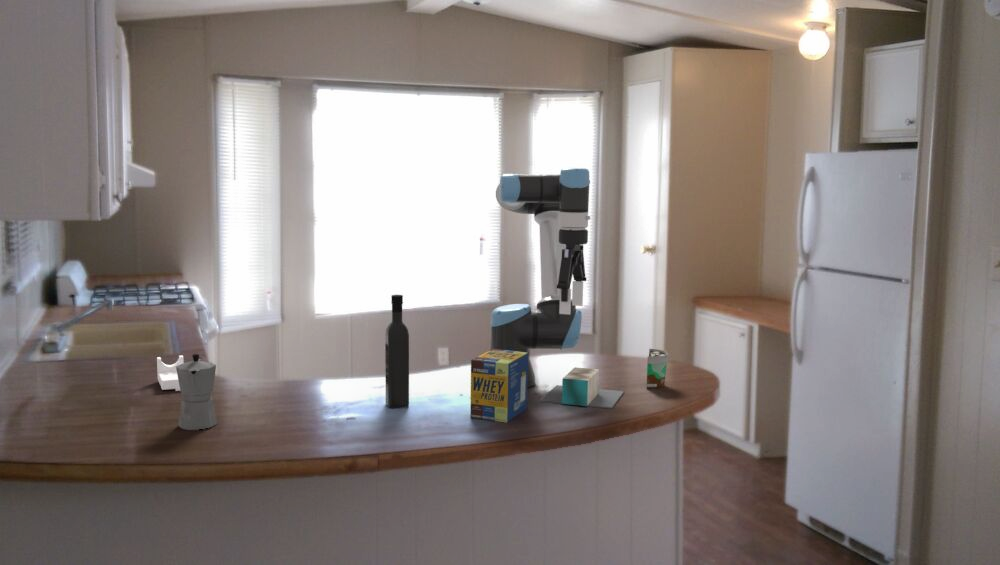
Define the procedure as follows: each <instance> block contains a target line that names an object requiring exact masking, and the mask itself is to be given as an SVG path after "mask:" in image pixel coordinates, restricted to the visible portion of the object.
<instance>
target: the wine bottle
mask: <svg viewBox="0 0 1000 565" xmlns="http://www.w3.org/2000/svg"><path fill="white" fill-rule="evenodd" d="M403 297H404V296H403V294H392V295H391V322H390V323H389V324H388V325H387V327H386V329H385V338H384V340H385V344H384V345H385V355H384V357H385V360H384V361H385V404H386V406H387V407H388V408H389V409H398V408H399V409H401V408H407V407H409V406H410V333H409V329H408V327H407V326H406V324H405V323H404V322H403V304H404V302H403V299H404V298H403Z"/></svg>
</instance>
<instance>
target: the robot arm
mask: <svg viewBox="0 0 1000 565" xmlns="http://www.w3.org/2000/svg"><path fill="white" fill-rule="evenodd" d="M590 184H591V180H590V170H589V169H588V168H582V167H581V168H580V167H564V168H562V169H561V170H560V174H552V173H551V174H544V173H543V174H542V173H541V174H540V173H539V174H536V173H535V174H532V173H529V174H528V173H504V174H502V175H501V176H500V179H499V184H497V186H496V190H495V198H496V201H497V203H498V204H499V206H500V207H502V208H503V209H505V210H506V211H509V212H514V213H516V214H523V215H525V214H526V215H533V219H534V220H533V221H535V222H536V224H538V226H539V249H540V250H539V252H540V253H539V255H540V257H539V259H540V283H541V284H540V287H541V288H540V290H541V292H540V293H541V298H540V300H539V301H538V302H537V303H536V309H532V307H531V304H528V303H512V304H506V305H502V306H497V307H496V308H495V309H493V311H491V316H490V317H491V318H490V324H489V326H490V350H491V349H501V350H510V351H518V352H527V353H528V385H527V389H528V388H531V387H533V386H535V384H536V374H535V371H534V368H533V365H532V362H531V358H530V355H531V354H530V353H531V351H530V350H531V349H533V350H534V349H535V350H538V349H539V350H541V349H543V350H544V349H545V350H558V349H559V350H564V349H573V348H576V346H577V345H578V343H579V339H580V334H581V330H582V329H581V328H582V319H583V317H582V310H581V309H578V308H576V306H577V307H583V304H584V303H583V301H584V300H583V299H584V298H583V296H584V282H586V281H587V277H586V268H585V257H584V245H586V244H588V241H589V240H588V238H589V231H588V229H587V228H588V227H589V221H590V220H591V216H590V215H589V206H590V205H589V203H590V202H589V201H590V200H589V199H590ZM572 279H573V280H572ZM571 285H572V288H571Z"/></svg>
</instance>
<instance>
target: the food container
mask: <svg viewBox="0 0 1000 565" xmlns="http://www.w3.org/2000/svg"><path fill="white" fill-rule="evenodd" d="M648 351H649V352H648V356H647V360H646V361H647V364H646V366H647V368H646V371H647V372H646V390H661V389H663V388H665V383H666V374H667V368H668V366H667V365H668V362H670V356H669V354H668V351H665V350H663V349H658V348H649V350H648Z"/></svg>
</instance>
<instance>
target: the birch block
mask: <svg viewBox="0 0 1000 565" xmlns="http://www.w3.org/2000/svg"><path fill="white" fill-rule="evenodd" d="M599 372H600V369H597V368H596V369H595V368H585V367H574V368H572V370H570V371H569V372H568V373H567V374H566V375H565V376H564V377H562V384H561V386H562V404H561V405H568V404H571V405H570V406H578V405H581V406H580V407H588V404H589V403H590V402H591V401H592V400H593V399H594V398H595V397H596V395H597V394H598V389H599V381H600V380H599V377H600V376H599V375H600V374H599Z"/></svg>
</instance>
